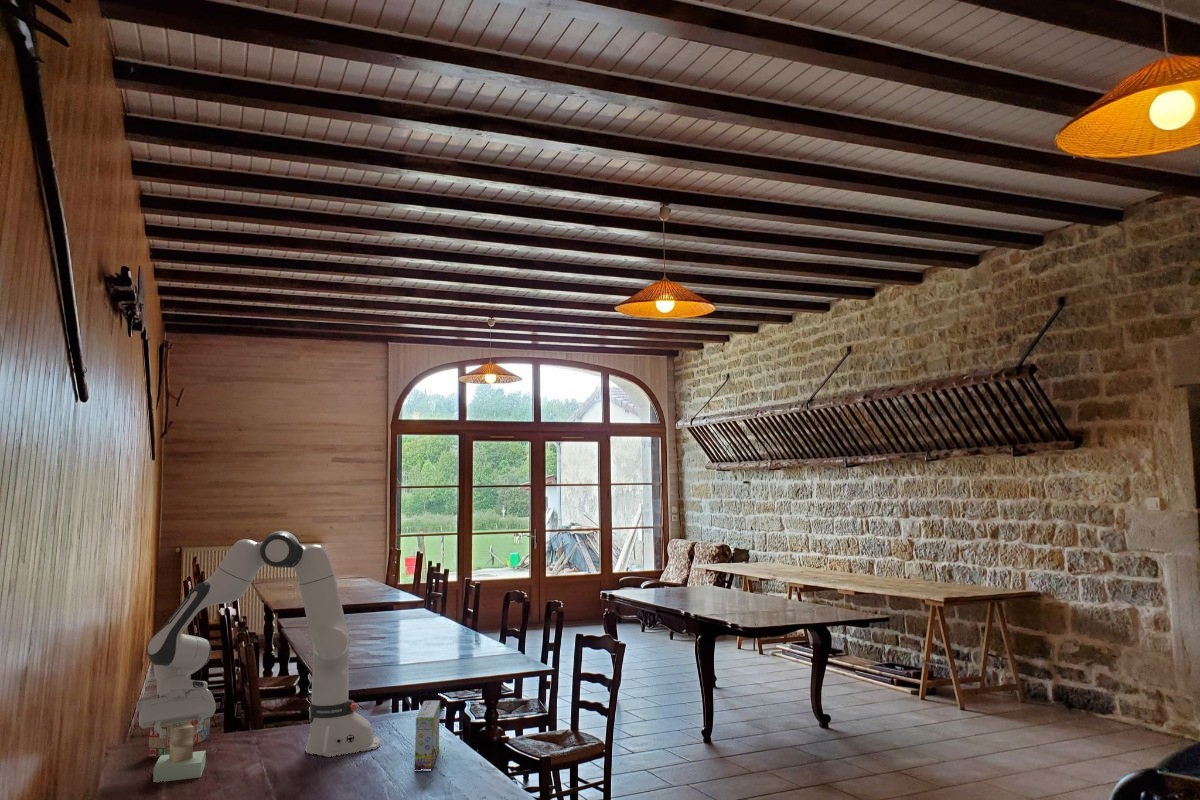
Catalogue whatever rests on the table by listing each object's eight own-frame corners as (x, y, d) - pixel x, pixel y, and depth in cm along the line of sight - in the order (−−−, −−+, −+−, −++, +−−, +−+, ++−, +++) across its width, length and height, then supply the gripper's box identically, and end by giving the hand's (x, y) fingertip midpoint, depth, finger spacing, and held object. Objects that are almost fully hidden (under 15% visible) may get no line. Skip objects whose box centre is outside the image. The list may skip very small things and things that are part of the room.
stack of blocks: (192, 737, 276) (194, 699, 278) (209, 738, 275) (211, 699, 277) (147, 757, 255) (149, 716, 257) (166, 758, 254) (167, 716, 256)
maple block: (188, 755, 244) (189, 723, 245) (192, 759, 240) (193, 726, 241) (169, 758, 240) (170, 726, 241) (173, 762, 237) (174, 729, 238)
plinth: (205, 764, 247) (205, 750, 248) (200, 777, 236) (201, 762, 236) (160, 769, 243) (160, 755, 244) (153, 782, 232) (153, 767, 233)
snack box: (433, 771, 237) (434, 717, 239) (413, 772, 237) (414, 717, 239) (440, 749, 258) (440, 699, 260) (422, 750, 258) (422, 699, 259)
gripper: (137, 692, 242) (143, 734, 233) (212, 681, 254) (220, 720, 246) (133, 705, 244) (139, 747, 236) (208, 693, 257) (216, 733, 249)
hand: (181, 733), depth 241 cm, fingers open, 8 cm apart
